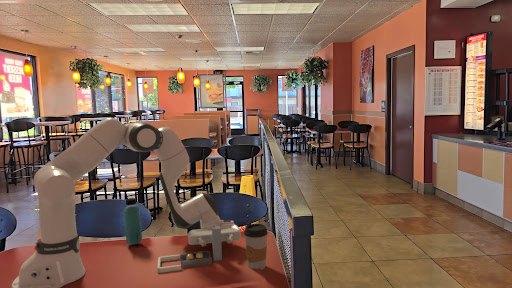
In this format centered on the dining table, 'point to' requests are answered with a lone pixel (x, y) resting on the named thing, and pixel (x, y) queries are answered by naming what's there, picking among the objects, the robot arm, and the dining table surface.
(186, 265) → the slot rail
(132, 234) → the beverage bottle
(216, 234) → the tall gray pillar
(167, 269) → the ball tray
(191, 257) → the gold metallic ball
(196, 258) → the brass sphere
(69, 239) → the robot arm
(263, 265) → the coffee cup
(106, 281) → the dining table surface
